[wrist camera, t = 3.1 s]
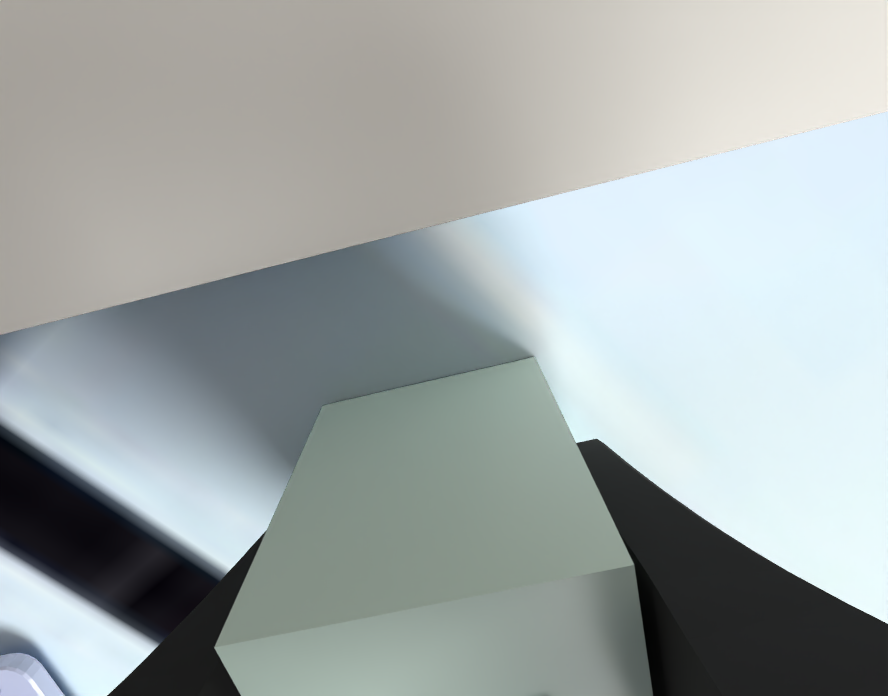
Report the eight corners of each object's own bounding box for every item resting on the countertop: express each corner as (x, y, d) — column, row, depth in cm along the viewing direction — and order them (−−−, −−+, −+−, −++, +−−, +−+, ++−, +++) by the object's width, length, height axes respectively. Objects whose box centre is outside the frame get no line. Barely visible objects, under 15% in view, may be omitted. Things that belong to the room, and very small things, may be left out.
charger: (382, 568, 11) (340, 894, 6) (322, 405, 10) (206, 661, 5) (568, 530, 11) (677, 842, 6) (534, 356, 9) (641, 577, 4)
